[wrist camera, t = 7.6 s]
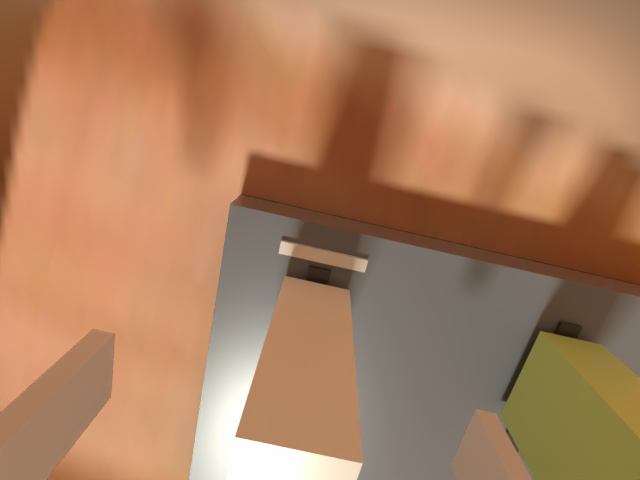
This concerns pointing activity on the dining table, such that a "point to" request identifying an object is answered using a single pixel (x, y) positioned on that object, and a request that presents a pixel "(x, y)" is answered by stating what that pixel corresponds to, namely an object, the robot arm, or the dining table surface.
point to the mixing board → (398, 330)
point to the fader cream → (302, 392)
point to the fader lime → (575, 412)
